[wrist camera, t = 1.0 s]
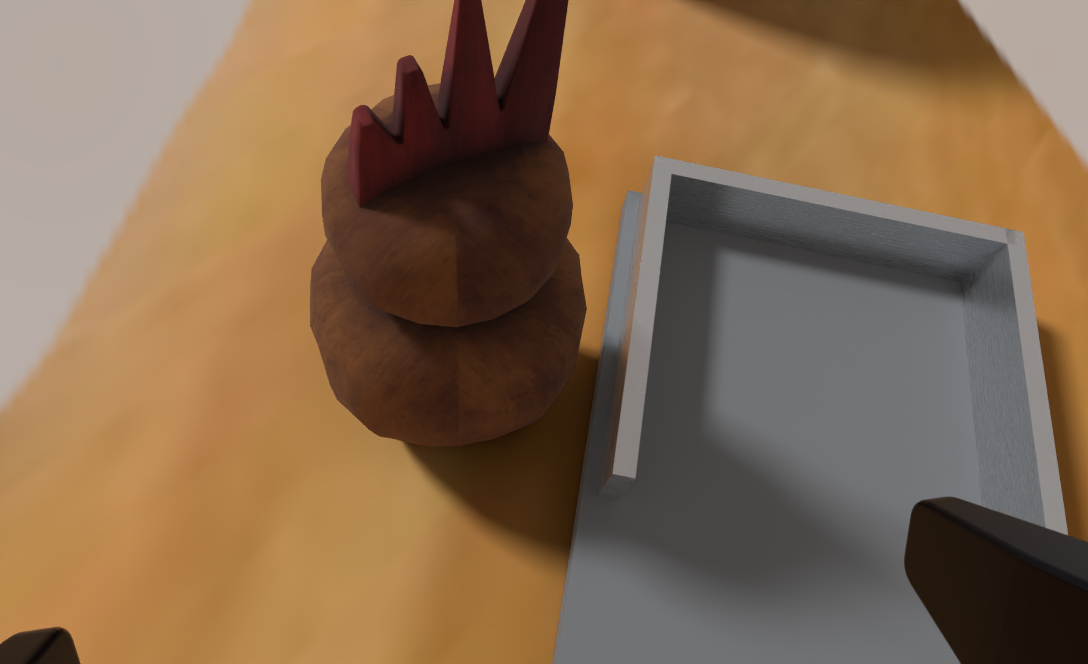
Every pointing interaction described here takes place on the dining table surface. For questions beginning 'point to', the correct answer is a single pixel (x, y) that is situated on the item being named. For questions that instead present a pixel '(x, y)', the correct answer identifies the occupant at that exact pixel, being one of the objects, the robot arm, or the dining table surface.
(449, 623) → the dining table surface
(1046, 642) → the robot arm
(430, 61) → the dining table surface
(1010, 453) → the grey shallow rectangular tray
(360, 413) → the wooden figurine
